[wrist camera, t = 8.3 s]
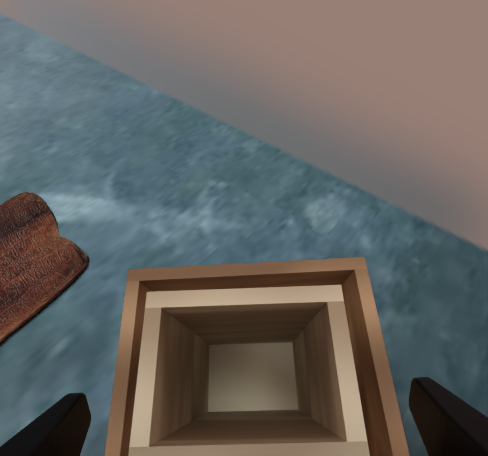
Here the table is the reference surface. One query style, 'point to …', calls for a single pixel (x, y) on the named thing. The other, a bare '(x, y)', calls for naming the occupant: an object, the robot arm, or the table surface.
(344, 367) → the birch crate
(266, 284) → the oak crate
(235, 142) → the table surface
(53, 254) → the wooden tablet
